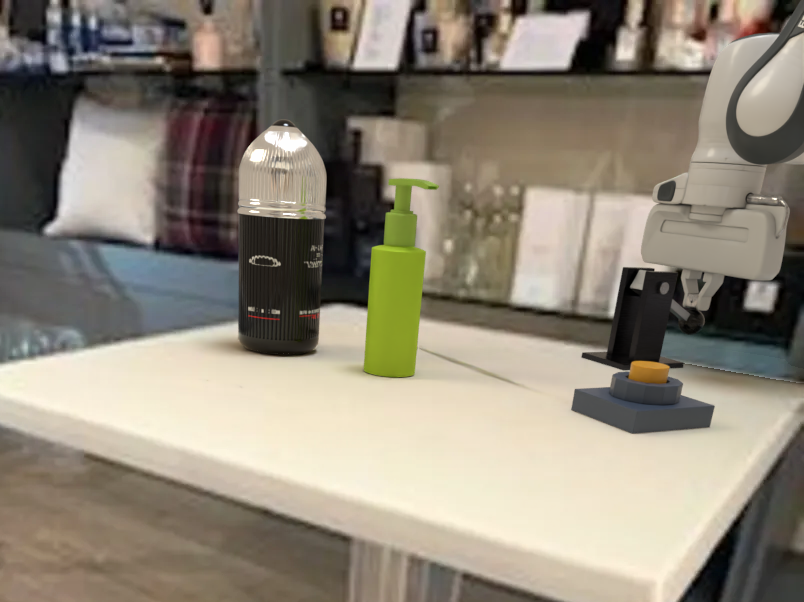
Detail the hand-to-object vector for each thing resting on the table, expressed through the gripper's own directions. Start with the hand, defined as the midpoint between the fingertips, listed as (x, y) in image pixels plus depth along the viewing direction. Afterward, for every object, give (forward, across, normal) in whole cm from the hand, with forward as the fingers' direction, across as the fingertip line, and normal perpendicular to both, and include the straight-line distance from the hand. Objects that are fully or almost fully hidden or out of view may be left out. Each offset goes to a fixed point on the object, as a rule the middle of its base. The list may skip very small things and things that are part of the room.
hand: (695, 308), depth 113 cm
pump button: (+4, -22, +28) cm, 36 cm away
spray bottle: (+7, +17, +51) cm, 54 cm away
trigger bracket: (+7, 0, +9) cm, 12 cm away
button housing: (+7, -22, +28) cm, 36 cm away
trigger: (+1, 0, +5) cm, 5 cm away
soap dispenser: (+7, +2, +43) cm, 44 cm away
